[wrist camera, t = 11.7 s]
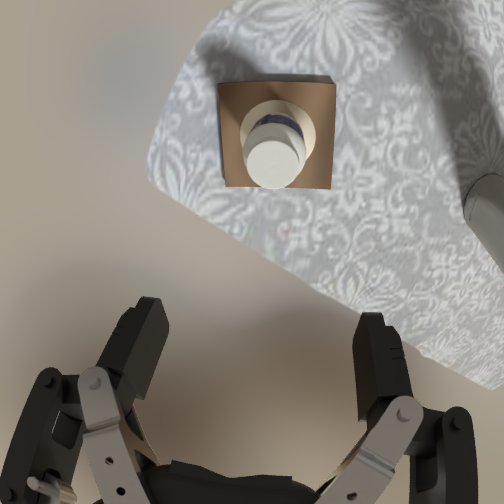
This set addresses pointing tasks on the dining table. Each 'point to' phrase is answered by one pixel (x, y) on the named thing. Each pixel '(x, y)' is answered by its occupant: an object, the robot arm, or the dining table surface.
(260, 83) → the rest board
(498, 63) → the dining table surface
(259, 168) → the pill bottle
